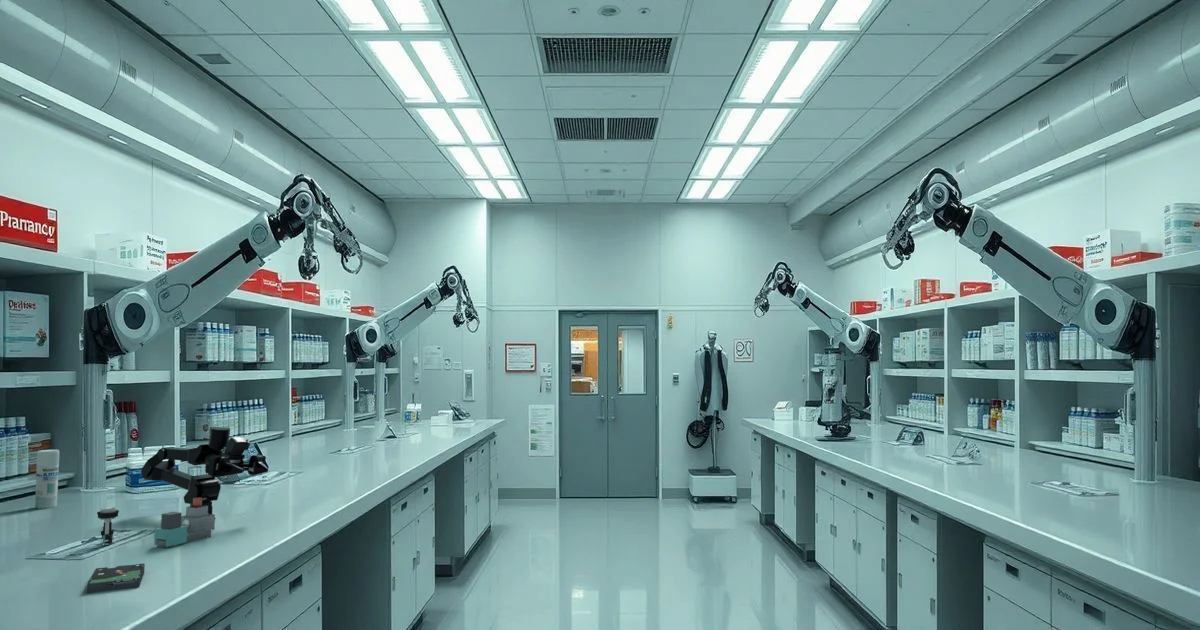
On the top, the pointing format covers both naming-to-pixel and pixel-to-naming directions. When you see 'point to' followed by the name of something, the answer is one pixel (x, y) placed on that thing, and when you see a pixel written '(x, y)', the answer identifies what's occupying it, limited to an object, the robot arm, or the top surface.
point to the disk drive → (116, 578)
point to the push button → (107, 523)
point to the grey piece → (198, 519)
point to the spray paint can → (47, 479)
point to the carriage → (171, 530)
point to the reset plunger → (197, 502)
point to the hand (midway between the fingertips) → (255, 470)
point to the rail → (188, 537)
